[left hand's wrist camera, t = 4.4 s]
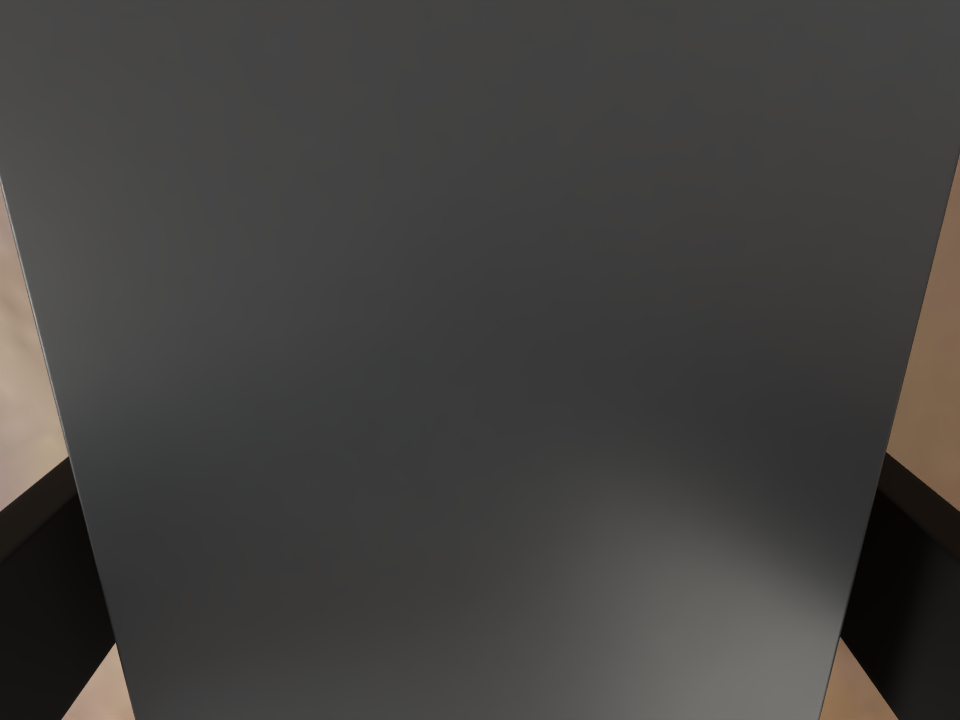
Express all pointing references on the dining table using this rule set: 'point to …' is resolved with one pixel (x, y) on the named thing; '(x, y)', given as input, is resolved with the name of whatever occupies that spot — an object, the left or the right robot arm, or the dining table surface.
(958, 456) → the dining table surface
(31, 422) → the dining table surface
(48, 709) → the left robot arm
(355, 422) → the wide beam
